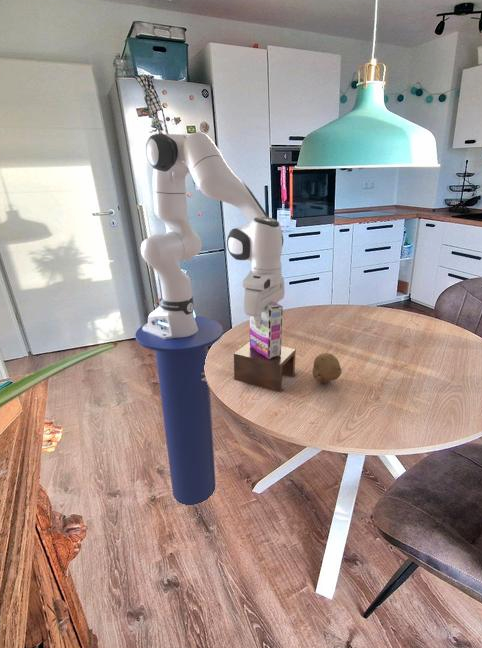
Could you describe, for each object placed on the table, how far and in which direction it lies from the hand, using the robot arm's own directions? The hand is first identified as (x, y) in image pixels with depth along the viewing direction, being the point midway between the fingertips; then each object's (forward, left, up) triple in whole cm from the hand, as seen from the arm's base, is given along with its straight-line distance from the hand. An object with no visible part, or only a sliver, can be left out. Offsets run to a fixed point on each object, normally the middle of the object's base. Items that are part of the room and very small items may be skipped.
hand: (265, 320), depth 118 cm
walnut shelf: (0, 0, -20) cm, 20 cm away
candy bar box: (0, 0, -11) cm, 11 cm away
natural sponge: (+19, +6, -20) cm, 28 cm away
